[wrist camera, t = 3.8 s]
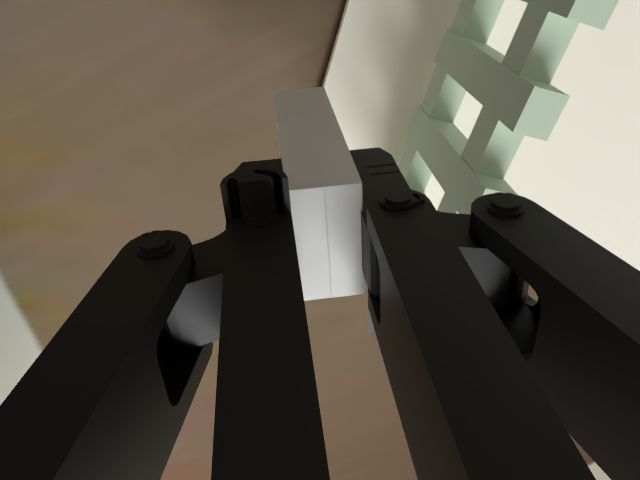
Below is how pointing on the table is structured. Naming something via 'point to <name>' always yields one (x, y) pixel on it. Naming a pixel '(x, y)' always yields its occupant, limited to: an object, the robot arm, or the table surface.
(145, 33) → the table surface
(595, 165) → the card
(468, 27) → the fence gate
